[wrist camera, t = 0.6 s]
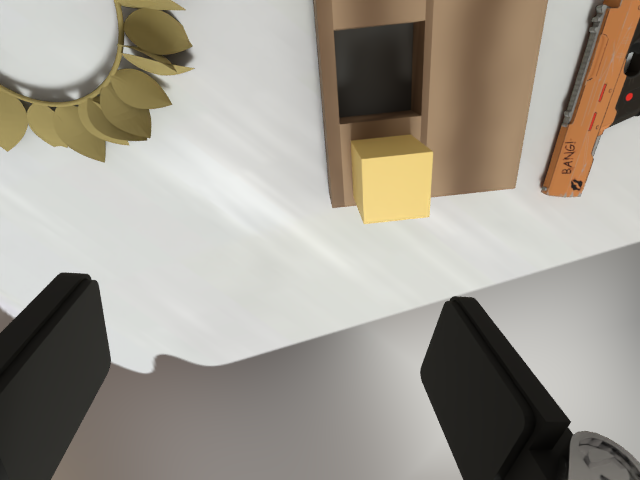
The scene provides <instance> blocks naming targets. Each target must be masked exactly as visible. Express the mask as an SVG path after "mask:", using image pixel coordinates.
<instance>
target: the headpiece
mask: <svg viewBox="0 0 640 480" xmlns="http://www.w3.org/2000/svg"><path fill="white" fill-rule="evenodd" d="M114 3H115V7H116V12H117V19H118V30H119V37H118V44H117V45H118V48H117V54H116V58H115V61H114V64H113V67H112V69H111V71H110V73H109V75H108V76H107V78H106V79H105V80H104V82H103V83H102V84H101V85H100V86H99V87H98V88H97V89H96V90H94V91H93V92H92V93H90V94H88V95H86V96H85V97H82V98H79V99H77V100H73V101H68V102H47V101H41V100H36V99H32V98H29V97H26V96H23V95H21V94H18V93H16V92H14V91H12V90H10V89H8V88H6V87H4V86H2V85H1V84H0V146H1V147H2V148H3V149H5V150H6V151H7V152H8V151H9V150H11V149H12V148H13V147H14V146H15V145H16V144H17V143H18V142H19V141H20V140H21V139H22V138H23V136H24V134H25V132H26V130H27V126H28V124H29V126H30V128H31V129H32V131H33V132H34V133H35V134H36V135H37V136H38V137H40V138H41V139H42V140H44V141H45V142H47V143H48V144H50V145H52V146H54V147H56V146H63V147H67V148H68V146H69V147H70V148H71V149H73V150H74V151H76V152H78V153H80V154H82V155H84V156H87V157H89V158H92V159H95V160H98V161H101V162H105V151H106V148H105V141H108V142H112V143H116V144H122V145H129V143H128V141H145V140H147V138H150V137H151V116H150V112H149V109H156V108H162V107H166V106H169V105H172V103H171V101H170V100H169V98H168V96H167V95H166V93H165V92H164V90H163V89H162V88H161V87H160V85H159V84H158V83H157V82H156V81H155V80H154V79H152V78H151V77H150V76H149V75H147V74H145V73H144V72H142V71H139V70H136V69H121V70H117V69H118V67H119V65H120V61H121V58H122V55H123V56H124V57H125V58H126V59H127V60H128V61H129V62H131V63H132V64H133V65H135V66H137V67H139V68H141V69H143V70H145V71H148V72H150V73H154V74H158V75H176V74H181V73H184V72H187V71H190V70H192V69H195V68H189V67H183V66H177V65H172V64H171V62H170V61H169V60H168V59H167V58H165V57H164V56H163V55H168V54H175V53H178V52H181V51H184V50H186V49H188V48H190V47H192V44H191V43H190V41H189V39H188V37H187V35H186V33H185V30H184V28H183V26H182V25H181V24H180V23H179V22H178V21H177V20H175V19H174V18H173V17H172V16H170V15H169V14H167V13H165V12H163V11H161V10H185V9H184V8H182V7H181V6H179V5H178V4H176V3H175V2H173V1H171V0H114ZM121 6H126V7H131V8H137V9H138V10H136V11H134V12H132V13H131V14H130V15H129V16H128V17H127V19H126V20H125V22H124V21H123V14H122V9H121ZM124 32H125V34H126V35H127V36H128V38H129V39H130V40H131V41H132V42H133V43H134V44H135V45H136V46H138V47H136V46H125V45H124ZM123 47H129V48H132V49H135V50H137V51H139V52H142V53H144V54H146V55H148V56H149V57H151V58H153V59H155V60H157V61H159V62H157V61H154V60H150V59H146V58H143V57H139V56H134V55H129V54H124V53H123ZM98 94H100V96H97V95H98ZM17 98H18V99H21V100H23V101H26V102H30V103H33V104H32V105H31V106H30V107H29V109H28V111H27V113H26V110H25V108H24V106H23V105H22V103H21V102H20V101H19V100H18V99H17ZM78 104H79V105H78ZM73 105H78V107H76V106H73ZM48 106H49V107H57V108H56V109H55V112H54V111H53V110H52V109H50V108H49V107H48Z"/></svg>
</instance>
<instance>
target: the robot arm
mask: <svg viewBox="0 0 640 480" xmlns="http://www.w3.org/2000/svg"><path fill="white" fill-rule="evenodd" d="M110 364H111V357H110V351H109V345H108V339H107V333H106V327H105V321H104V315H103V308H102V302H101V296H100V290H99V285H98V282H97V281H96V280H91V277H90V276H89V275H88V274H80V273H60V274H59V275H57V276H56V277H55V278H54V279H53V280H52V281H51V282H50V283H49V284H48V285H47V287H46V288H45V289H44V290H43V291H42V292H41V293H40V294H39V295H38V296H37V297H36V298H35V299H34V300H33V301H32V302H31V303H30V304H29V305H28V306H27V307H26V308H25V309H24V310H23V311H22V312H21V313H20V314H19V315H18V316H17V317H16V318H15V319H14V320H13V321H12V322H11V323H10V324H9V325H8V326H7V327H6V328H5V329H4V330H3V331H2V332H1V333H0V480H51V478H52V476H53V474H54V473H55V471H56V469H57V467H58V465H59V463H60V461H61V459H62V458H63V456H64V454H65V452H66V450H67V448H68V446H69V444H70V443H71V441H72V439H73V437H74V435H75V433H76V432H77V430H78V428H79V426H80V424H81V422H82V420H83V418H84V417H85V415H86V413H87V411H88V409H89V407H90V405H91V404H92V402H93V400H94V398H95V396H96V394H97V392H98V390H99V388H100V387H101V385H102V383H103V381H104V379H105V377H106V376H107V373H108V371H109V368H110ZM420 374H421V379H422V383H423V385H424V387H425V390H426V392H427V394H428V397H429V399H430V402H431V404H432V406H433V409H434V411H435V414H436V416H437V418H438V421H439V423H440V425H441V428H442V430H443V432H444V435H445V437H446V439H447V442H448V444H449V447H450V449H451V451H452V453H453V456H454V458H455V461H456V463H457V466H458V468H459V470H460V473H461V475H462V477H463V480H640V463H639V462H638V461H637V460H636V459H635V458H634V457H633V456H632V455H631V454H630V453H629V452H628V451H626V450H625V449H624V448H623V447H622V446H620V445H618V444H617V443H615V442H614V441H612V440H610V439H609V438H607V437H604V436H602V435H600V434H597V433H593V432H588V431H581V432H577V433H575V434H574V435H573V434H572V432H571V431H570V430H569V428H568V426H569V424H570V423H571V421H570V420H569V419H568V417H567V416H566V415H565V414H564V412H563V411H562V410H561V409H560V407H559V406H558V405H557V404H556V402H555V401H554V399H553V398H552V397H551V396H550V394H549V393H548V392H547V390H546V389H545V388H544V386H543V385H542V384H541V383H540V381H539V380H538V379H537V377H536V376H535V375H534V374H533V372H532V371H531V370H530V368H529V367H528V366H527V365H526V363H525V362H524V361H523V359H522V358H521V357H520V356H519V354H518V353H517V352H516V350H515V349H514V348H513V347H512V345H511V344H510V343H509V341H508V340H507V339H506V337H505V336H504V335H503V334H502V332H501V331H500V330H499V328H498V327H497V326H496V325H495V324H494V322H493V321H492V319H491V318H490V317H489V316H488V314H487V313H486V312H485V310H484V309H483V308H482V307H481V305H480V304H479V303H478V301H477V300H476V299H474V298H472V297H457V296H454V297H452V298H451V299H450V301H447V302H445V304H444V306H443V309H442V311H441V314H440V317H439V320H438V322H437V325H436V328H435V330H434V333H433V336H432V339H431V341H430V344H429V347H428V350H427V352H426V355H425V358H424V361H423V363H422V366H421V371H420Z"/></svg>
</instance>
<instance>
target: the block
mask: <svg viewBox="0 0 640 480" xmlns="http://www.w3.org/2000/svg"><path fill="white" fill-rule="evenodd" d="M351 157H352V177H353V197H354V200H355V202H356V205H357V207H358V210H359V213H360V215H361V218H362V220H363V223H364V224H369V223H378V222H388V221H397V220H406V219H415V218H424V217H429V215H430V198H431V181H432V164H433V151H432V150H430V149H429V148H428V147H426V146H425V145H424V144H423V143H421V142H420V141H419V140H417V139H416V138H415V137H413V136H412V135H411V134H410V135H400V136H391V137H382V138H372V139H363V140H353V141H351Z"/></svg>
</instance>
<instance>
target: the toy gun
mask: <svg viewBox="0 0 640 480" xmlns="http://www.w3.org/2000/svg"><path fill="white" fill-rule="evenodd" d="M591 22H594V23H593V26H592V27H590V28H589V32H590V36H589V40H588V43H587V46H586V50H585V53H584V56H583V59H582V63H581V66H580V69H579V72H578V75H577V78H576V82H575V85H574V88H573V91H572V94H571V98H570V101H569V104H568V107H567V111H564V115H565V117H564V120H563V122H562V125H561V128H560V131H559V135H558V138H557V141H556V145H555V148H554V151H553V154H552V158H551V161H550V164H549V167H548V171H547V174H546V177H545V180H544V184H543V187H542V190H541V192H542V193H544V194H546V195H549V196H557V197H580V196H581V194H582V191H583V189H584V186H585V183H586V180H587V177H588V175H589V172H590V169H591V166H592V163H593V160H594V159H593V156H594V153H595V150H596V148H597V145H598V142H599V140H600V137H601V135H602V134H603V131H604V129H606V128H608V127H611V126H613V125H615V124H617V123H620V122H622V121H624V120H626V119H628V118H631V117H633V116H640V0H604V2H603V5H598V6H596V16H595V17H594V18H592V21H591ZM631 52H634V54H633V56H632V59H631V61H630V64H629V67H628V69H627V72H626V73H624V67H625V63H626V59H625V58H627V57H628V54H629V53H631Z"/></svg>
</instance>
